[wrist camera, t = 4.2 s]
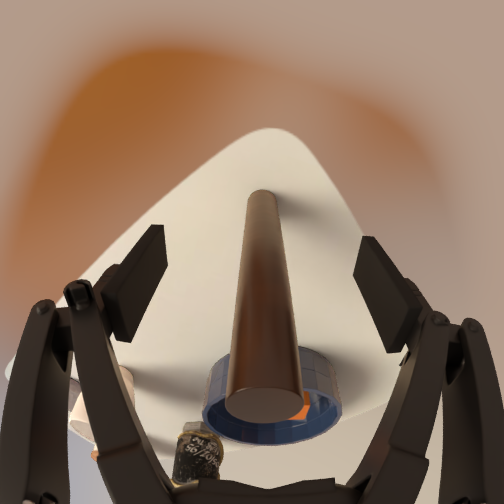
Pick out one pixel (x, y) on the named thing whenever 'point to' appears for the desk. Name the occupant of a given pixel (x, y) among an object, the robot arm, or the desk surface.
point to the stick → (263, 324)
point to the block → (305, 409)
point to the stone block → (73, 394)
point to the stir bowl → (284, 432)
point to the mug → (80, 415)
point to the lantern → (197, 455)
